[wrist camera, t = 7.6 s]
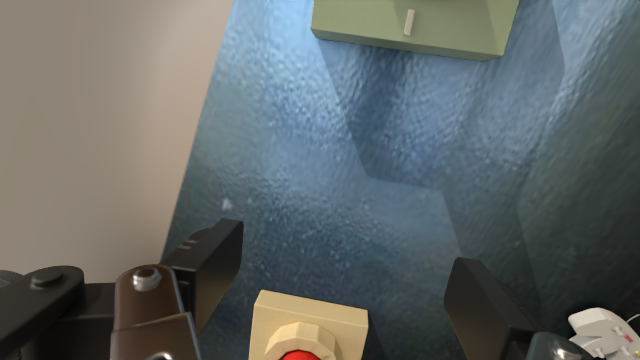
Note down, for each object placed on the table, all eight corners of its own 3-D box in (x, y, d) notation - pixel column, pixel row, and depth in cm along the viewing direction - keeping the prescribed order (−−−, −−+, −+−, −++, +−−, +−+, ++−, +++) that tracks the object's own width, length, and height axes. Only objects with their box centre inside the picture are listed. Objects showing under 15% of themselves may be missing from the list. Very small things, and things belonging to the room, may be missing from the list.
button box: (254, 356, 30) (240, 393, 26) (261, 289, 28) (247, 319, 24) (352, 376, 30) (352, 418, 26) (367, 309, 28) (369, 344, 24)
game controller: (544, 338, 26) (564, 363, 24) (634, 229, 23) (668, 245, 21) (603, 364, 26) (629, 391, 24) (700, 259, 23) (743, 278, 21)
